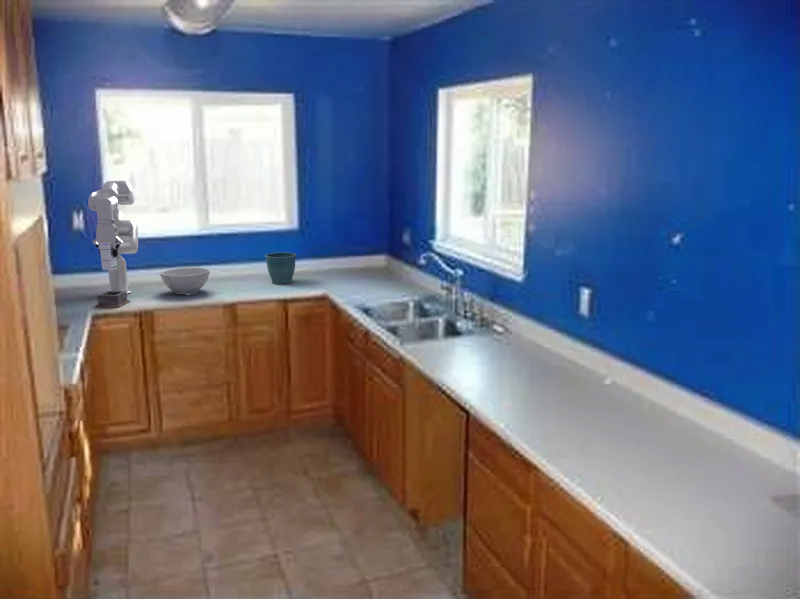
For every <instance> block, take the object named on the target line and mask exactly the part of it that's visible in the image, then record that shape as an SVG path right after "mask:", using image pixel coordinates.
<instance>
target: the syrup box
mask: <svg viewBox="0 0 800 599" xmlns="http://www.w3.org/2000/svg"><path fill="white" fill-rule="evenodd" d="M99 244H100V253H101V257H100V261H101V270H102V271H108V270H114V269H117V268H118V261H117V257H113V250H114V248H113V246H112V244H110V242H100V243H99ZM100 253H99V254H100Z"/></svg>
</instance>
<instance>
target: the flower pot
mask: <svg viewBox="0 0 800 599" xmlns="http://www.w3.org/2000/svg"><path fill="white" fill-rule="evenodd" d="M264 257H265V261H266V267H267V271H268V274H269V276H270V278H271V279H270V280H271V283H272V284H274V283H277V284H276V285H285V284H284V283H287V284H290V282H291V283H292V282H293V277H294V274H295V273H294V272H295V270H296V260H297V259H296V257H297V254H296V253H295V252H289V251H288V252H287V251H284V252H283V251H282V252H281V251H280V252H271V253H266V254H265V255H264Z"/></svg>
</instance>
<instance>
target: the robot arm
mask: <svg viewBox="0 0 800 599" xmlns="http://www.w3.org/2000/svg"><path fill="white" fill-rule="evenodd" d="M87 200H88V202H87V203H88V208H89V210H91V211H92V212H96V214H97V225H96V230H95V232H96V233H95V234H96V237H95V239H93V241H92V244H93V245H94V246H95V247H96V248H98V250H99V252H98V253H99V256H100V258H101V253H100V244H99V243H100V242H110V244H112V246H113V248H114V250H113V257H117V261H118V268H117V269H114V270H107V273H108V274H107V275H108V284H109V290H108V291H126V292H127V295H129V294H131V293H132V290H131V289H129V287H130V286H131V285H130V283H129V282H128V272H127V262H126V259H125V258H124V257H123V256H122V255H126V254H128V255H130V254H136V253H137V252H138V250H139V231H138V230H139V228H138V224H137V222H136V220H132V219H128V220H126V219H124V218H125V217H124V213H123V211H121V209H120V208H118V207H119V206H129V205H133V204H134V203H135V194H134V191H133V187H132V185H131V183H130V182H129V181H128V180H109V181H106V182H104V184H103V186H102V189H98V190H96V191H93V192H92V193H90V195H89V196H88V199H87ZM128 293H129V294H128Z"/></svg>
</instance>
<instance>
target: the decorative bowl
mask: <svg viewBox="0 0 800 599" xmlns="http://www.w3.org/2000/svg"><path fill="white" fill-rule="evenodd" d="M210 272H211V270H210V269H208V268H205V267H191V266H190V267H175V268H169V269H165V270H162V271H160V272H159V275H160V278H161V280H162V282H163V284H164V285H165V286H166V287H167V288H168V289H169V290H171V291H172V292H174V294H175V293H176V294H175V295H177V294H191V295H194V294H193V293H195V294H197V293H199V290H201V289H202V288H203V287H204V286H205V285H206V283H207V282H208V279H209V277H210Z"/></svg>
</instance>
